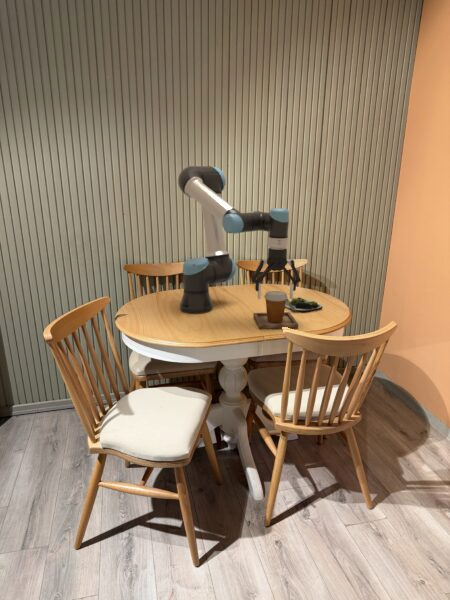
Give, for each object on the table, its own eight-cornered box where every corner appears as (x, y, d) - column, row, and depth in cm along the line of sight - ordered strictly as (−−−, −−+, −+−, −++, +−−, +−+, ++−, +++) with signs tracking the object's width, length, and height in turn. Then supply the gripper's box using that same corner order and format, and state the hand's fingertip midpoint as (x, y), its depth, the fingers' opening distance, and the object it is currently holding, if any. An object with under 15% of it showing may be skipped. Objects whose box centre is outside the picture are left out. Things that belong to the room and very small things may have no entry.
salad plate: (271, 304, 203) (272, 295, 202) (300, 299, 211) (301, 290, 210) (297, 315, 187) (297, 305, 185) (327, 309, 195) (327, 300, 194)
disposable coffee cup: (287, 324, 171) (289, 296, 168) (264, 324, 171) (265, 296, 168) (284, 317, 180) (286, 290, 177) (262, 317, 181) (263, 290, 177)
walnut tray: (259, 329, 168) (259, 325, 167) (253, 317, 183) (253, 312, 183) (298, 328, 169) (298, 324, 168) (289, 316, 184) (289, 312, 184)
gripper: (248, 249, 163) (246, 301, 169) (310, 249, 165) (306, 300, 171) (245, 246, 170) (244, 295, 176) (305, 246, 172) (302, 295, 178)
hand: (275, 298), depth 173 cm, fingers open, 13 cm apart
